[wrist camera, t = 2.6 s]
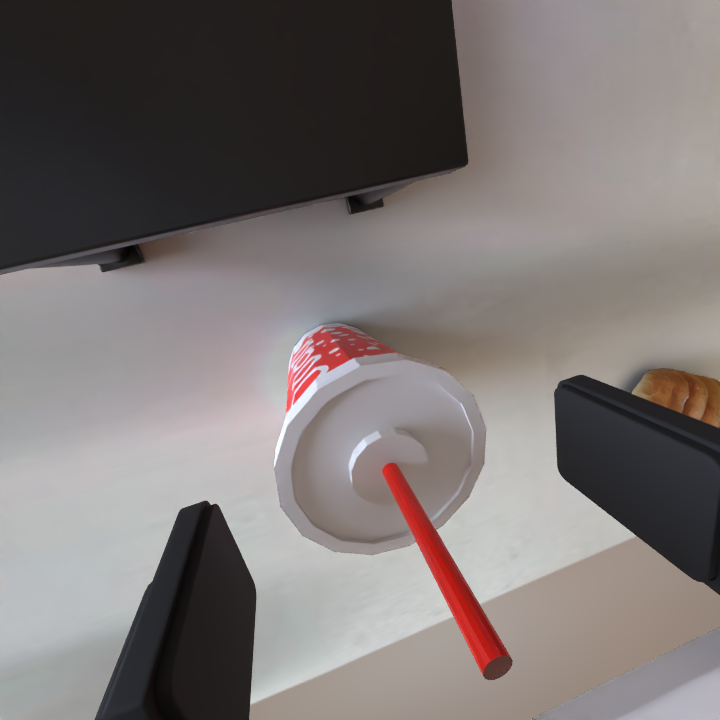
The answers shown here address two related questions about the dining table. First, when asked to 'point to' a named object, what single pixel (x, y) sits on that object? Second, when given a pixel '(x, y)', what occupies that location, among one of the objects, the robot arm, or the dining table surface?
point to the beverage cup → (383, 461)
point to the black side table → (212, 116)
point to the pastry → (682, 393)
